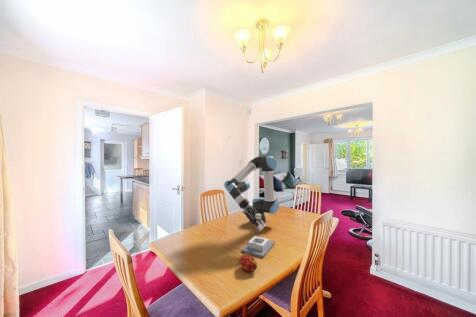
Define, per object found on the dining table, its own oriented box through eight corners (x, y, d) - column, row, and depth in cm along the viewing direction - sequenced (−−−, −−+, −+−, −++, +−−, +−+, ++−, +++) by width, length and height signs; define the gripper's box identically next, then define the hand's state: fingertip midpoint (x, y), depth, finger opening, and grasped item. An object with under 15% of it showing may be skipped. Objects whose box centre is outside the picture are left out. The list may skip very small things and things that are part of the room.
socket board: (254, 239, 143) (254, 232, 143) (274, 243, 135) (274, 237, 135) (241, 251, 124) (241, 244, 124) (263, 258, 116) (263, 250, 116)
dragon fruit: (240, 266, 110) (256, 278, 102) (233, 263, 105) (248, 276, 96) (247, 252, 113) (263, 263, 105) (240, 249, 107) (256, 260, 99)
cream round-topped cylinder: (256, 231, 132) (256, 213, 132) (262, 232, 130) (262, 214, 130) (253, 233, 129) (253, 215, 129) (259, 234, 126) (259, 215, 126)
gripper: (244, 202, 145) (264, 227, 136) (232, 207, 130) (254, 235, 121) (250, 196, 142) (271, 221, 134) (239, 200, 127) (261, 229, 119)
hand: (263, 228), depth 128 cm, fingers closed on cream round-topped cylinder, 4 cm apart
